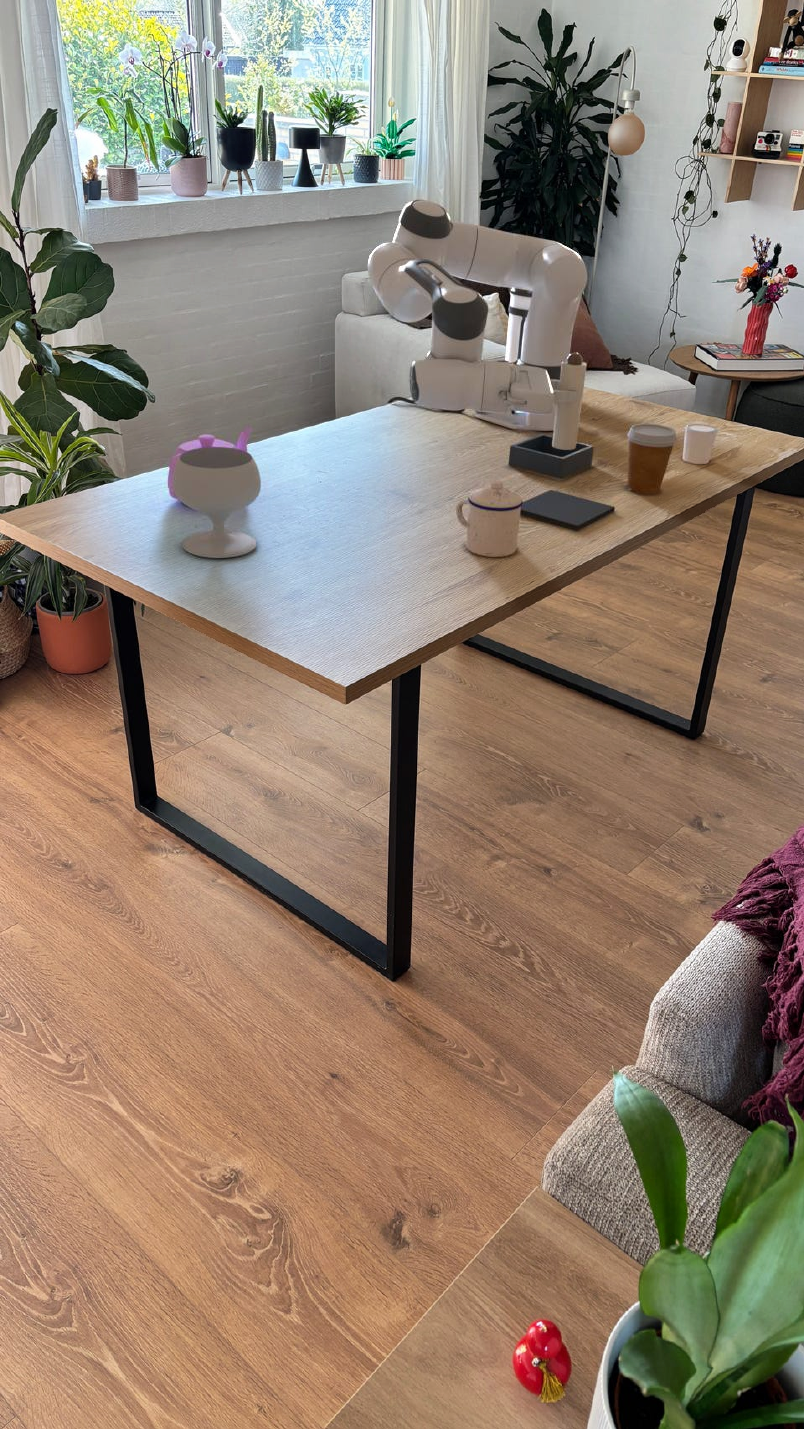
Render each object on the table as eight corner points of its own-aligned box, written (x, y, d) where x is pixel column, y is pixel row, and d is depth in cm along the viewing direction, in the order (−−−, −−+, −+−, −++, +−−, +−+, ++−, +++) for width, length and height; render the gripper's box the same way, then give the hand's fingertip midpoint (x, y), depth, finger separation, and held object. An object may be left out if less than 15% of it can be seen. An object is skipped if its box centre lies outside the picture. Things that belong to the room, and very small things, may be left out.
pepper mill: (547, 446, 200) (558, 352, 192) (559, 441, 203) (571, 349, 195) (567, 451, 198) (580, 356, 190) (580, 446, 201) (592, 353, 193)
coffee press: (565, 390, 286) (579, 268, 271) (538, 401, 274) (552, 274, 259) (507, 379, 293) (517, 260, 278) (478, 390, 281) (488, 266, 266)
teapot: (197, 520, 190) (193, 454, 184) (147, 502, 197) (142, 437, 191) (278, 494, 204) (277, 432, 198) (229, 478, 211) (226, 417, 205)
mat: (511, 512, 201) (511, 507, 201) (550, 494, 211) (550, 489, 210) (577, 531, 194) (577, 525, 194) (614, 511, 204) (615, 506, 203)
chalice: (213, 525, 188) (209, 439, 181) (279, 543, 183) (277, 455, 175) (159, 549, 178) (152, 459, 170) (226, 569, 172) (223, 476, 164)
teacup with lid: (527, 548, 186) (534, 481, 180) (499, 562, 179) (505, 494, 173) (469, 530, 192) (474, 466, 186) (439, 544, 185) (444, 478, 180)
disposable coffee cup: (672, 487, 218) (682, 428, 212) (661, 500, 211) (671, 439, 205) (626, 479, 221) (635, 420, 215) (613, 492, 214) (622, 431, 208)
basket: (508, 467, 225) (510, 445, 223) (539, 455, 234) (542, 433, 231) (560, 481, 218) (563, 458, 216) (591, 467, 227) (594, 446, 225)
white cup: (709, 456, 238) (715, 424, 235) (714, 466, 232) (720, 433, 229) (677, 454, 239) (683, 422, 235) (681, 463, 233) (687, 431, 229)
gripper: (502, 383, 186) (583, 388, 185) (499, 357, 203) (573, 362, 203) (499, 420, 189) (578, 425, 188) (495, 392, 206) (568, 396, 206)
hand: (575, 392), depth 196 cm, fingers closed on pepper mill, 4 cm apart
